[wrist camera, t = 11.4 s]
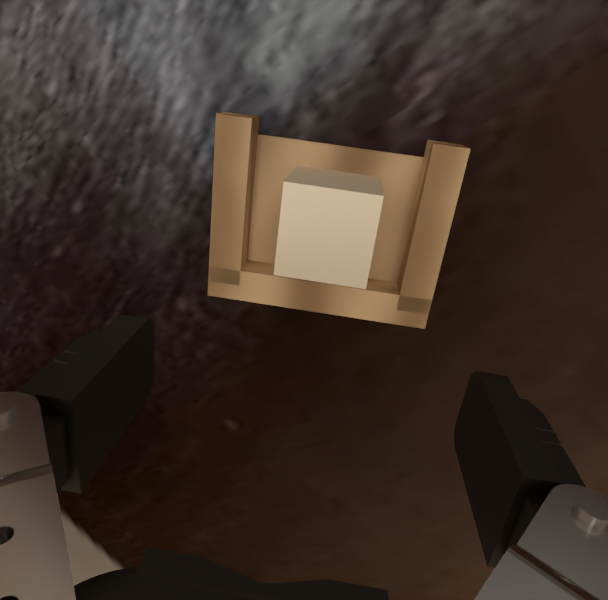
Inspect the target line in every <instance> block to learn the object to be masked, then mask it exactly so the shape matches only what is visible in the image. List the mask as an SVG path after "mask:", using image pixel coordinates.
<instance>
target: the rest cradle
mask: <svg viewBox="0 0 608 600" xmlns="http://www.w3.org/2000/svg"><path fill="white" fill-rule="evenodd" d="M259 123H260V116H253V115H246V114H239V113H232V112H223V113H216V126H215V148H214V169H213V191H212V212H211V234H210V255H209V277H208V295H209V296H215V297H222V298H228V299H235V300H241V301H248V302H254V303H261V304H267V305H273V306H280V307H286V308H293V309H299V310H306V311H312V312H319V313H325V314H332V315H338V316H345V317H351V318H358V319H364V320H370V321H377V322H383V323H390V324H396V325H403V326H409V327H416V328H422V329H425V326H426V322H427V318H428V315H429V311H430V307H431V303H432V299H433V295H434V291H435V287H436V283H437V279H438V275H439V271H440V267H441V263H442V259H443V255H444V251H445V248H446V244H447V240H448V236H449V232H450V228H451V224H452V220H453V216H454V212H455V208H456V204H457V200H458V196H459V192H460V188H461V184H462V181H463V177H464V173H465V169H466V165H467V161H468V157H469V153H470V148H468V147H466V146H464V145H462V144H455V143H448V142H441V141H434V140H427V143H426V147H425V152H424V157H419V156H412V155H405V154H398V153H391V152H384V151H377V150H370V149H362V148H355V147H348V146H341V145H334V144H327V143H320V142H312V141H305V140H298V139H291V138H284V137H277V136H270V135H262V134H259ZM297 165H300V166H307V167H314V168H321V169H327V170H334V171H341V172H348V173H355V174H362V175H369V176H376V177H379V180H380V184H381V188H382V191H383V195H384V198H383V203H382V209H381V214H380V219H379V224H378V229H377V234H376V239H375V245H374V250H373V255H372V260H371V265H370V270H369V276H368V281H367V286H366V289H360V288H354V287H347V286H341V285H335V284H328V283H322V282H315V281H309V280H302V279H296V278H289V277H283V276H276V275H274V265H275V256H276V247H277V238H278V228H279V219H280V210H281V201H282V191H283V182H284V180H285V179H286V178H287V177H288V175H289V174H290V173H291V172H292V171H293V169H294V168H295V167H296V166H297Z"/></svg>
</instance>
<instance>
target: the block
mask: <svg viewBox="0 0 608 600" xmlns="http://www.w3.org/2000/svg"><path fill="white" fill-rule="evenodd" d="M383 198H384V195H383V191H382V188H381V184H380V180H379V177H376V176H369V175H362V174H355V173H348V172H341V171H334V170H327V169H321V168H314V167H307V166H300V165H297V166H296V167H295V168H294V169H293V171H292V172H291V173H290V174H289V175H288V177H287V178H286V179H285V180H284V182H283V191H282V201H281V210H280V219H279V228H278V238H277V247H276V256H275V265H274V275H276V276H283V277H289V278H296V279H302V280H309V281H315V282H322V283H328V284H335V285H341V286H347V287H354V288H360V289H366V286H367V281H368V276H369V270H370V265H371V260H372V255H373V250H374V245H375V239H376V234H377V229H378V224H379V219H380V214H381V209H382V203H383Z"/></svg>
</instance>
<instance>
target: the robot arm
mask: <svg viewBox="0 0 608 600" xmlns="http://www.w3.org/2000/svg"><path fill="white" fill-rule="evenodd" d="M154 372H155V367H154V324H153V321H152V320H151V319H145V318H139V317H132V316H126V315H120V316H119V317H117V318H116V319H115V320H114V321H113V322H112V323H111V324H110V325H109V326H108V327H107V328H106V329H105V330H104V331H97V330H96V331H94V332H92V333H90V334H87V335H85V336H83V337H81V338H78V339H77V340H75V341H74V342H73V343H72V344H71V345H70V346H69V347H67V348H66V349H65V350H64V353H61V354H60V355H58V356H57V357H56V358H55V359H54V361H53V362H50V363H49V364H48V365H47V366H46V367H45V368H44V369H42V370H41V371H40V372H39V373H38V374H37V375H36V376H34V377H33V378H32V379H31V380H30V381H29V382H28V383H26V384H25V385H24V386H23V387H22V388H21V389H20V390H18V391H17V392H2V393H0V600H389V599H388V590H384V589H378V588H373V587H367V586H362V585H356V584H351V583H345V582H339V581H334V580H328V579H326V580H312V581H298V582H283V583H261V582H258V581H256V580H254V579H251V578H249V577H247V576H245V575H243V574H240V573H238V572H236V571H234V570H232V569H229V568H227V567H225V566H223V565H221V564H219V563H216V562H214V561H212V560H210V559H208V558H205V557H200V556H195V555H189V554H183V553H178V552H172V551H167V550H161V549H156V548H150V547H147V549H146V551H145V553H144V555H143V557H142V559H141V561H140V564H139V566H138V567H133V568H126V569H120V570H115V571H111V572H108V573H104V574H101V575H98V576H95V577H93V578H90V579H88V580H85V581H83V582H81V583H79V584H77V585H76V586H74V585H73V580H72V573H71V568H70V562H69V557H68V551H67V546H66V541H65V534H64V529H63V524H62V518H61V512H60V507H59V501H58V496H57V494H58V492H59V491H60V490H64V491H70V492H75V493H82V491H83V490H84V488H85V487H86V486H87V484H88V483H89V481H90V480H91V478H92V477H93V475H94V474H95V473H96V471H97V470H98V468H99V467H100V465H101V464H102V462H103V461H104V459H105V458H106V457H107V455H108V454H109V452H110V451H111V449H112V448H113V446H114V445H115V444H116V442H117V441H118V439H119V438H120V436H121V435H122V433H123V432H124V431H125V429H126V428H127V426H128V425H129V423H130V422H131V420H132V419H133V418H134V416H135V415H136V413H137V412H138V410H139V409H140V407H141V406H142V405H143V403H144V402H145V400H146V399H147V397H148V396H149V394H150V391H151V388H152V385H153V381H154ZM454 443H455V450H456V453H457V457H458V461H459V464H460V468H461V472H462V475H463V479H464V483H465V486H466V490H467V494H468V497H469V501H470V504H471V508H472V512H473V515H474V519H475V523H476V526H477V530H478V534H479V537H480V541H481V545H482V548H483V552H484V556H485V559H486V563H487V566H488V567H494V568H495V569H494V571H493V572H492V574H491V575H490V577H489V578H488V580H487V581H486V583H485V584H484V586H483V587H482V589H481V591H480V592H479V594H478V595H477V597H476V598H475V600H608V498H607V497H605V496H603V495H602V494H600V493H598V492H596V491H594V490H591V489H589V488H586V486H585V484H584V483H583V481H582V479H581V478H580V476H579V474H578V472H577V471H576V469H575V467H574V465H573V464H572V462H571V460H570V459H569V457H568V455H567V453H566V452H565V450H564V448H563V446H560V441H559V440H558V438H557V436H556V434H555V433H553V429H552V427H551V426H550V424H549V422H548V421H547V419H546V417H545V415H544V414H543V413H542V412H541V411H539V410H538V409H537V408H536V407H535V406H534V405H533V404H532V403H531V402H529V401H528V400H526V399H519V397H518V395H517V393H516V391H515V389H514V387H513V385H512V383H511V382H510V380H509V378H508V377H507V376H503V375H497V374H491V373H484V372H478V371H475V372H473V373H472V375H471V377H470V380H469V383H468V386H467V389H466V392H465V396H464V399H463V402H462V405H461V409H460V412H459V415H458V418H457V422H456V426H455V433H454Z"/></svg>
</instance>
